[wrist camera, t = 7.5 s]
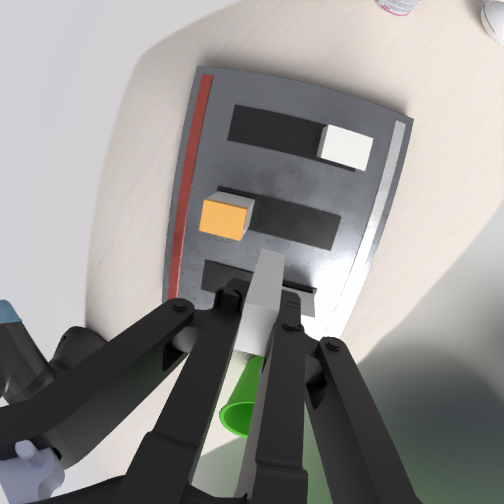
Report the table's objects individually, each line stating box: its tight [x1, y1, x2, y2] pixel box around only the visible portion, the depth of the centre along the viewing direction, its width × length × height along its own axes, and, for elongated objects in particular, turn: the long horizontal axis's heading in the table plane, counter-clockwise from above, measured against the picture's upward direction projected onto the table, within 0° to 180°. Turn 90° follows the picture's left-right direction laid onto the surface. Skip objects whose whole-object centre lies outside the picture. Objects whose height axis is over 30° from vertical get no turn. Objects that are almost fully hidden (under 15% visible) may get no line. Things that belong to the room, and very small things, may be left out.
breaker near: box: [316, 124, 373, 171], centre depth 24 cm, size 4×3×5 cm
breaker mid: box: [199, 191, 255, 241], centre depth 28 cm, size 4×3×5 cm
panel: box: [162, 66, 414, 341], centre depth 31 cm, size 24×30×2 cm
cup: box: [219, 355, 265, 438], centre depth 36 cm, size 9×9×11 cm
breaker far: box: [282, 286, 316, 335], centre depth 31 cm, size 4×3×5 cm
